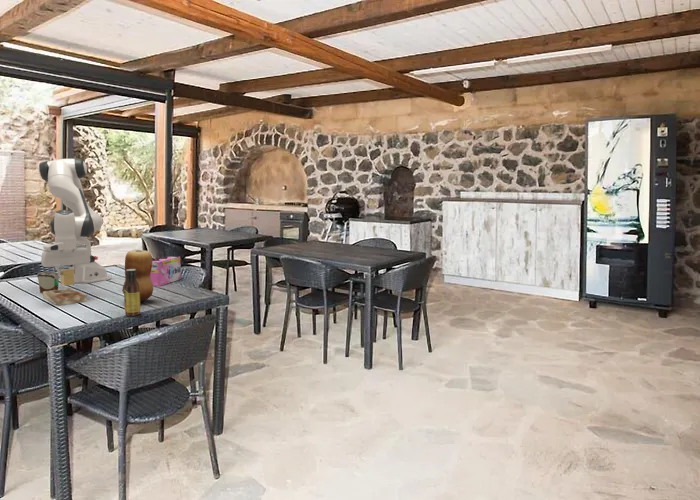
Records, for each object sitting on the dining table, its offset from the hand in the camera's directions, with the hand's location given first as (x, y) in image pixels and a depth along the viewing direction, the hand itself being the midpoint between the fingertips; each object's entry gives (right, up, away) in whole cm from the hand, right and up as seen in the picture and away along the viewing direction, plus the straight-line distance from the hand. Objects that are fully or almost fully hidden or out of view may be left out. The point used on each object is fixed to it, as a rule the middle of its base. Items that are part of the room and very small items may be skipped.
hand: (67, 274), depth 241 cm
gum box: (+27, -7, +52) cm, 59 cm away
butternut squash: (+32, -14, +4) cm, 35 cm away
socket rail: (-4, -12, +6) cm, 14 cm away
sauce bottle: (+38, -17, -18) cm, 45 cm away
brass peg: (0, -5, 0) cm, 5 cm away
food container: (-19, -10, +20) cm, 29 cm away
